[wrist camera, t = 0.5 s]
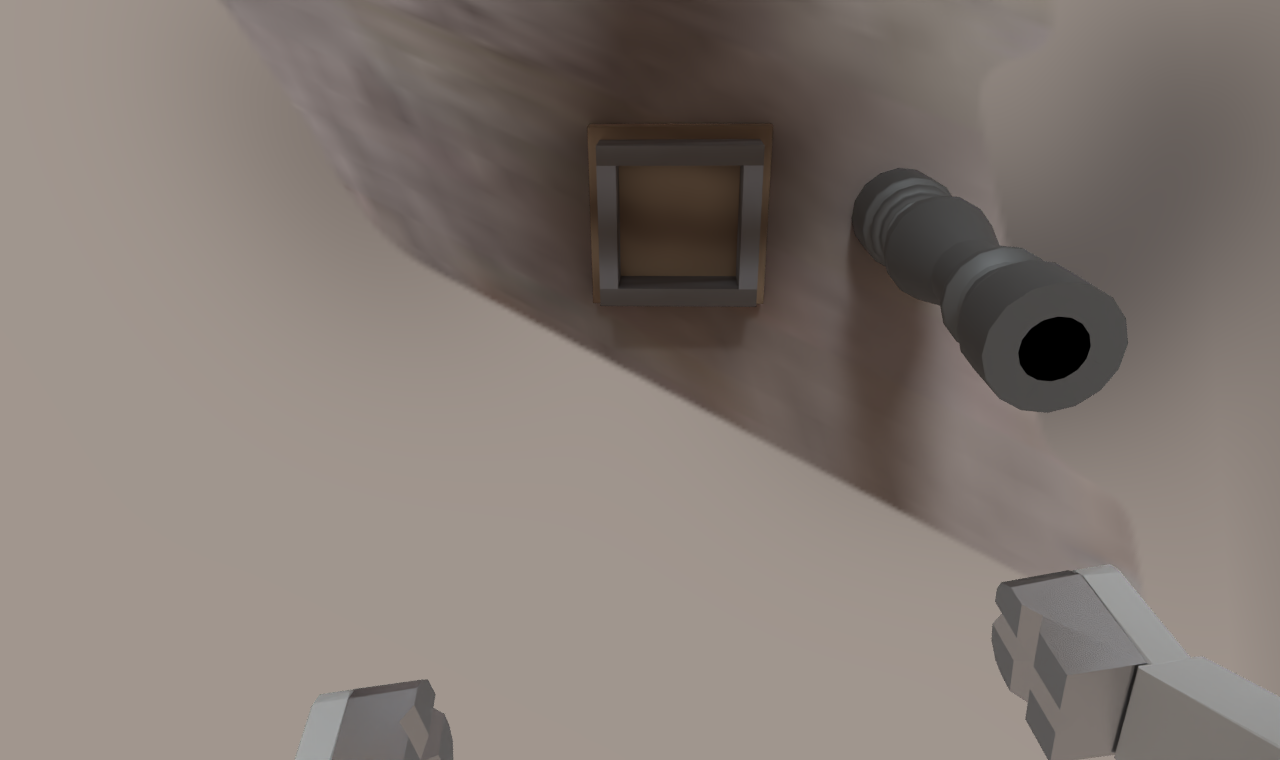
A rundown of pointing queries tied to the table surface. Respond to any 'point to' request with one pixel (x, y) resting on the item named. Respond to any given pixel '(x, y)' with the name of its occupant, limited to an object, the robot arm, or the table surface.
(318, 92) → the table surface
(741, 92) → the table surface
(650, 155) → the socket base
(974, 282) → the candle holder
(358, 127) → the table surface
